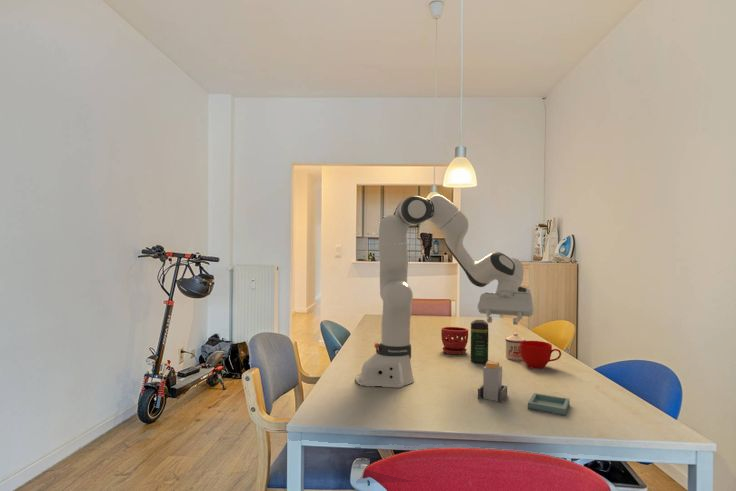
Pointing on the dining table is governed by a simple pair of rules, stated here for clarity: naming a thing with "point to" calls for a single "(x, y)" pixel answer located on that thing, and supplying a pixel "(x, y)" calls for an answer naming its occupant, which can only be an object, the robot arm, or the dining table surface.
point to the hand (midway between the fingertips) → (502, 322)
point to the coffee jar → (479, 341)
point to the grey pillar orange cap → (492, 380)
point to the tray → (548, 404)
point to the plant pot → (454, 340)
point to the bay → (501, 394)
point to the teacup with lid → (513, 347)
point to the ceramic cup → (537, 353)
